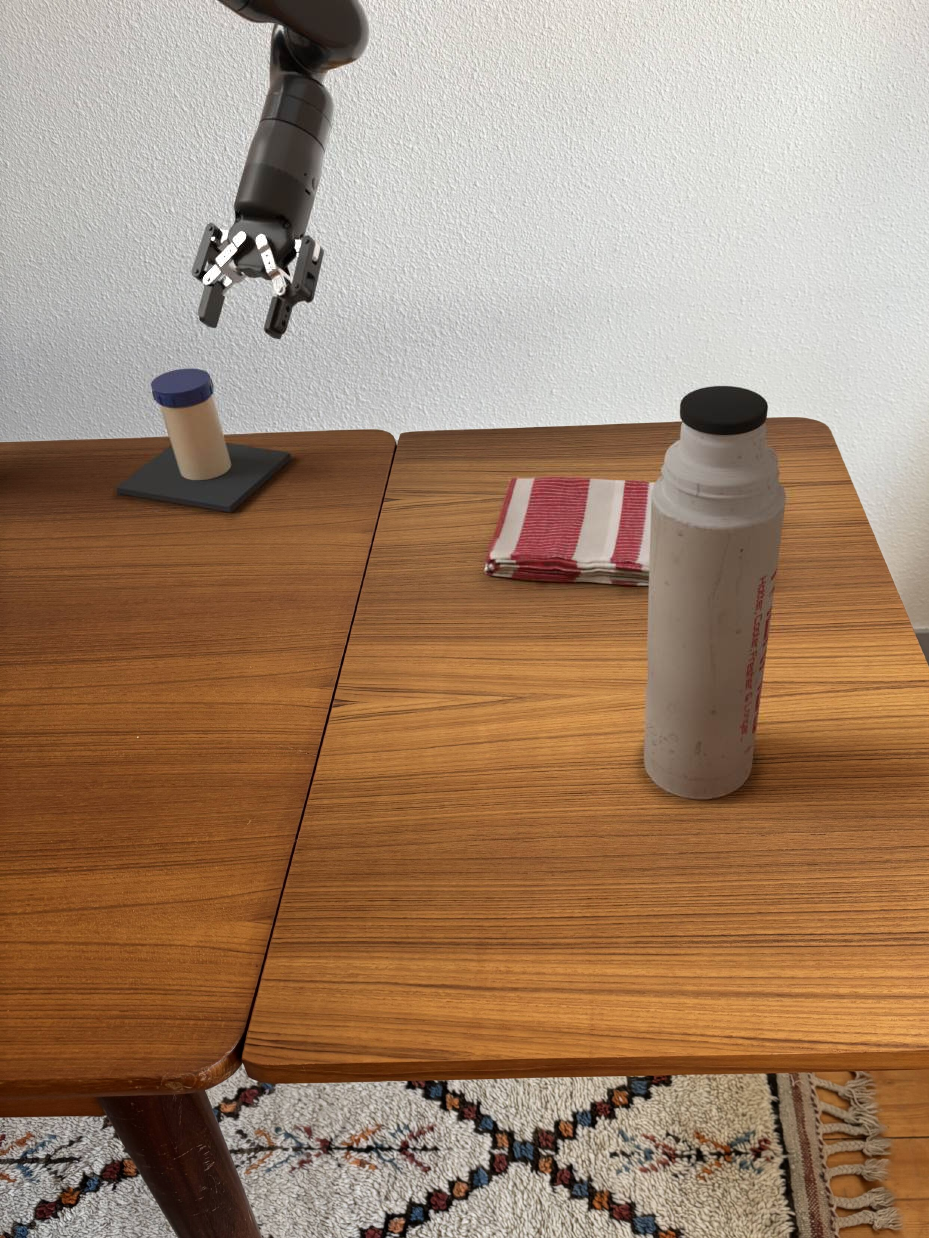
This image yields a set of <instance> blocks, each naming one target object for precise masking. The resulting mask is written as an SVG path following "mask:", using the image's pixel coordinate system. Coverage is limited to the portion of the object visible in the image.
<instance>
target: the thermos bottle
mask: <svg viewBox="0 0 929 1238" xmlns="http://www.w3.org/2000/svg"><path fill="white" fill-rule="evenodd" d="M768 410H769V405H768V401H767V400H766V398H765V397H763V395H761V394H759V393H757V392H755V391H753V390H751V389H748V388H744V387H739V386H732V385H711V386H705V387H701V388H698V389H694V390H692V391H690V392H688V393H687V394H685V395H684V396H683V398H682V399H681V400H680V403H679V418H680V420H681V422H682V423H681V426H680V435H679V439H678V440H676V441H675V442H673V444H671V445H670V446H669V447H668V448H667V450H666V451H665V455H664V461H663V465H662V466H660V471H661V475H660V476H659V477H658V478H657V479H656V481H655V484H654V486H653V489H652V494H651V528H650V562H649V586H648V597H647V598H648V600H647V601H648V603H647V604H648V605H647V633H646V634H647V636H646V653H647V655H646V656H647V657H646V658H647V660H646V661H647V677H646V686H645V687H646V688H645V700H644V701H645V707H644V736H643V737H644V739H643V741H644V742H643V765H644V768H645V771H646V773H647V774H648V776H649V778H650V779H651V781H652V782H653V783H654V784H655V785H657V786H658V787H659V788H660V789H662V790H664V791H665V792H667V793H669V794H672V795H674V796H677V797H681V798H684V799H692V800H711V799H718V798H721V797H724V796H727V795H729V794H731V793H734V792H736V791H737V790H738V789H739V788H741V787H742V786H743V785H744V784H745V782H746V781H747V780H748V779H749V777H750V775H751V772H752V768H753V762H754V761H753V760H754V751H755V746H756V745H755V744H756V737H757V729H758V721H759V714H760V713H759V712H760V706H761V698H762V697H761V696H762V691H763V682H764V674H765V667H766V657H767V652H768V651H767V650H768V642H769V635H770V627H771V620H772V613H773V612H772V611H773V605H774V603H773V602H774V594H775V589H776V588H775V587H776V580H777V573H778V572H777V571H778V566H779V565H778V564H779V557H780V556H779V555H780V548H781V539H782V532H783V524H784V517H785V508H786V501H787V494H786V489H785V488H784V485H782V483H781V481H779V479H780V473H781V472H780V469H779V458H778V454H777V452H776V451H775V449H774V448H773V447H772V446H770V445H769V443H767V442H766V437H767V426H766V423H765V422H766V421H767V418H768V417H767V416H768Z"/></svg>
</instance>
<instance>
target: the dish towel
mask: <svg viewBox="0 0 929 1238" xmlns="http://www.w3.org/2000/svg"><path fill="white" fill-rule="evenodd" d="M655 482H656V481H655ZM655 482H651V481H644V480H631V479H627V480H622V479H620V480H619V479H604V478H592V477H591V478H590V477H566V476H542V477H532V478H531V477H530V478H529V477H528V478H527V477H526V478H519V477H511V478H509V483H508V485H507V488H506V491H505V492H506V493H505V497H504V499H503V504H502V506H501V511H500V513H499V517H498V520H497V524H496V527H495V530H494V533H493V537H492V540H491V542H490V544H489V547H488V550H487V555H486V558H485V567H484V570H483V572H484V574H485V575H486V576H490V577H500V578H511V579H516V580H525V581H526V580H527V581H539V582H550V583H551V582H552V583H576V582H577V583H578V582H579V583H581V582H582V583H595V584H605V585H621V586H628V587H629V586H630V587H631V586H634V587H635V586H636V587H638V586H639V587H641V586H643V587H644V586H645V587H649V562H650V528H651V494H652V489H653V486H654V484H655Z"/></svg>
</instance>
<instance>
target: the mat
mask: <svg viewBox="0 0 929 1238" xmlns="http://www.w3.org/2000/svg"><path fill="white" fill-rule="evenodd" d="M226 445H227V449H228V453H229V456H230V460H231V467H230V469H229V470H228V471H227V472H226V473H224V474H222V475H220V476H218V477H215V478H212V479H207V480H190V479H186V478H184V477H183V476H182V475H181V474H180V471H179V468H178V465H177V461H176V458H175V455H174V452H173V448H172V445H171V444H170V445H168V447H166V448H165V449H163V450H162V451H161V452H160V453H158V454H157V455H156V456H155V457H153V458H152V459H150V460H149V461H148V462H147V463H145V464H144V465H142V467H140V468H139V469H138V470H136V471H135V472H134V473H132V474H131V475H130V476H128V477H127V478H126V479H125V480H123V481H121V483H119V484H118V485H117V486H116V487H115V489H116V492H117V494H118V495H125V496H131V497H136V498H141V499H148V500H154V501H160V502H164V503H172V504H176V505H177V504H178V505H182V506H189V507H194V508H200V509H206V510H211V511H218V512H223V513H229V514H232V513H233V512H235V511H236V510H237V508H239V507H240V506H241V505H242V504H243V503H244V502H245V501H246V500H248V499H249V498H250V497H251V496H253V494H254V493H255V492H257V491H258V490H259V489H260V488H261V487H262V486H264V484H265V483H266V482H269V480H270V479H271V478H272V477H273V476H274V475H275V474H277V473H278V472H279V471H280V470H281V469H282V468H283V467H285V465H286V464H288V463H289V462H290V461H291V460H292V454H291V452H289V451H282V450H276V449H271V448H270V449H269V448H264V447H263V448H262V447H255V446H250V445H242V444H237V443H229V442H226Z"/></svg>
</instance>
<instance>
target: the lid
mask: <svg viewBox="0 0 929 1238" xmlns="http://www.w3.org/2000/svg"><path fill="white" fill-rule="evenodd" d="M150 388H151V394H152V397H153V400H154V401H155V402H156V403H157V404H158V405H159V404H160V405H162V406H167V407H185V406H190V405H194V404H197V403H200V402H202V401H204V400H206V399H208V398H209V397H210V396H211V395H212V394H213V395H214V392H215V390H214V389H215V388H214V382H213V379H212V378H211V374H210V373H209V372H208V371H206V370H203V369H200V368H179V369H174V370H169V371H166V372H164V373H162V374H159V375H157V376H156V377H155V378H153V380H152V381H151V382H150Z"/></svg>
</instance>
